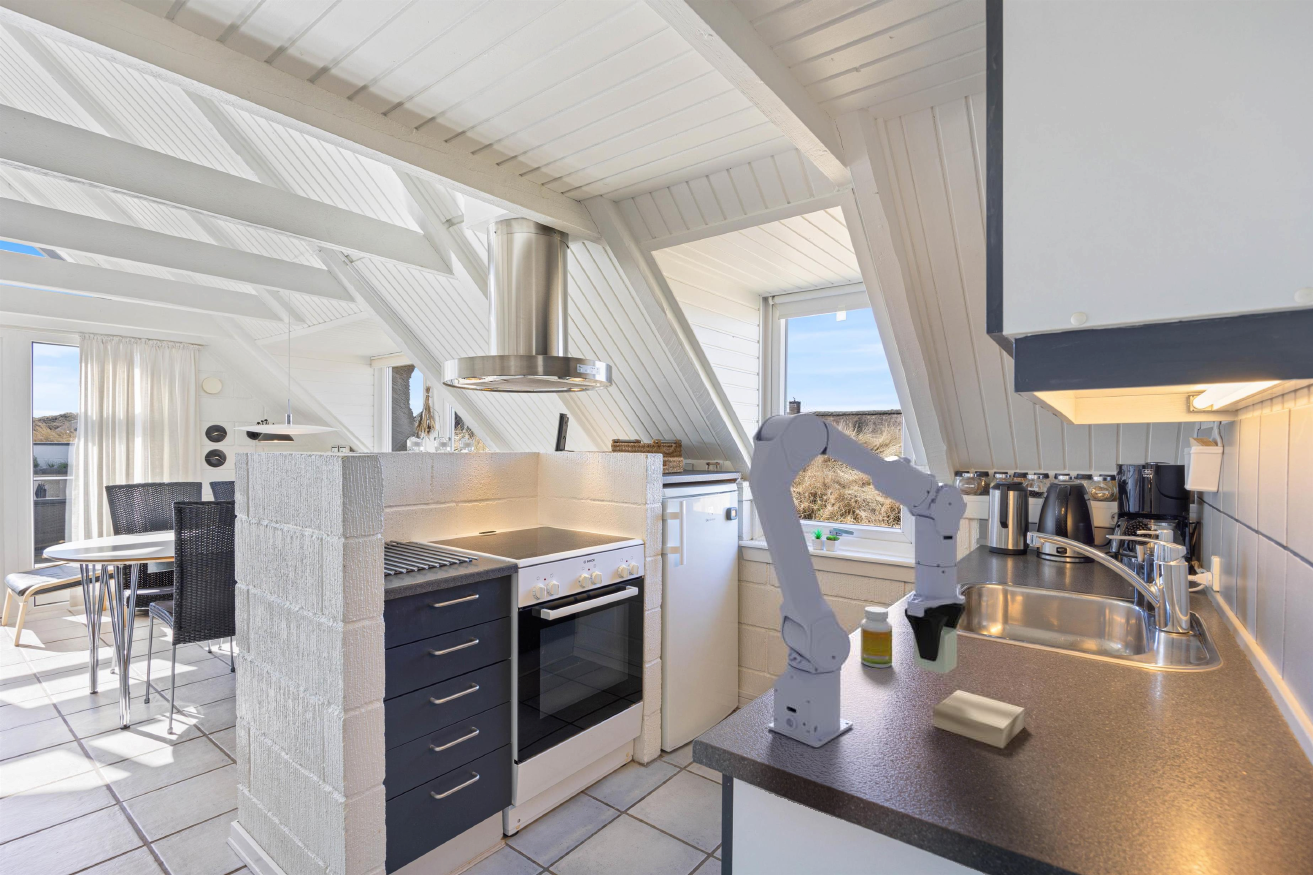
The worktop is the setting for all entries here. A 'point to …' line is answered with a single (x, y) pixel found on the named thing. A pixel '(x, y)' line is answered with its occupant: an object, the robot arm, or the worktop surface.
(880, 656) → the supplement bottle
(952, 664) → the sage block
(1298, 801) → the worktop surface
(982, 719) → the oak base
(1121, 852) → the worktop surface
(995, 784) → the worktop surface
